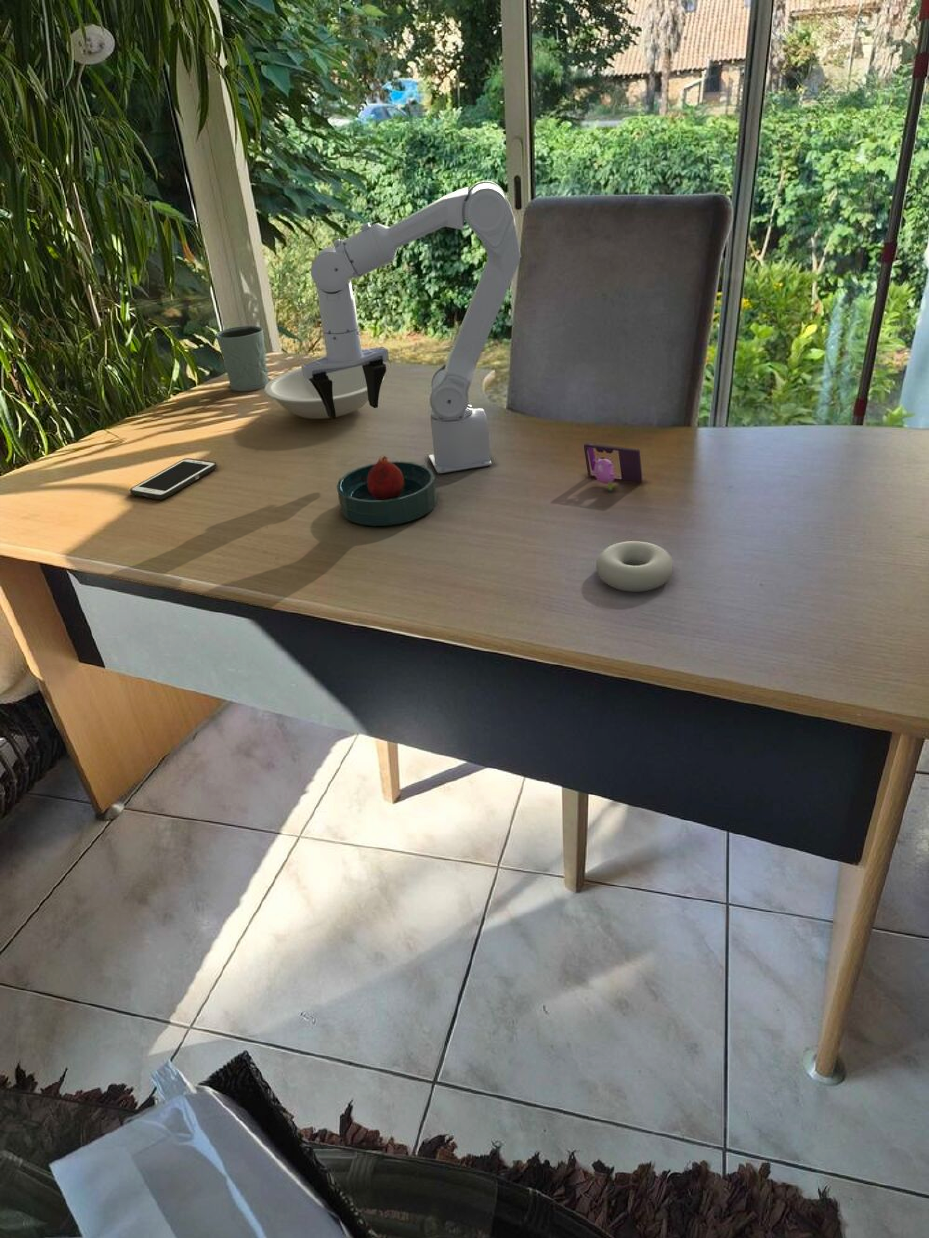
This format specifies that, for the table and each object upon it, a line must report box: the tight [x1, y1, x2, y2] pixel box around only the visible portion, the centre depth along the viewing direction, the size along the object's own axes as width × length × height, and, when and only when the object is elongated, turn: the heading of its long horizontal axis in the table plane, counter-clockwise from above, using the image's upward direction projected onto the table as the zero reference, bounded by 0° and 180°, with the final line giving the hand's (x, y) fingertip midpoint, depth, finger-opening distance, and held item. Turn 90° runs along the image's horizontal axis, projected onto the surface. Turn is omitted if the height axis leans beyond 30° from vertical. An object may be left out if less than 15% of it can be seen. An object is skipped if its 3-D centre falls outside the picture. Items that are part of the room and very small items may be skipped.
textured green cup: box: [215, 325, 270, 392], centre depth 194 cm, size 10×10×12 cm
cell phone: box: [129, 457, 218, 500], centre depth 153 cm, size 8×15×1 cm, turn 153°
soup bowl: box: [263, 366, 385, 420], centre depth 176 cm, size 24×24×7 cm
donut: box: [595, 540, 674, 593], centre depth 114 cm, size 10×4×10 cm
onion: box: [367, 455, 404, 500], centre depth 136 cm, size 6×6×8 cm
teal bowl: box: [336, 460, 438, 527], centre depth 137 cm, size 15×15×4 cm
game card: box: [583, 442, 643, 491], centre depth 137 cm, size 7×5×9 cm
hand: (353, 411), depth 146 cm, fingers open, 7 cm apart
